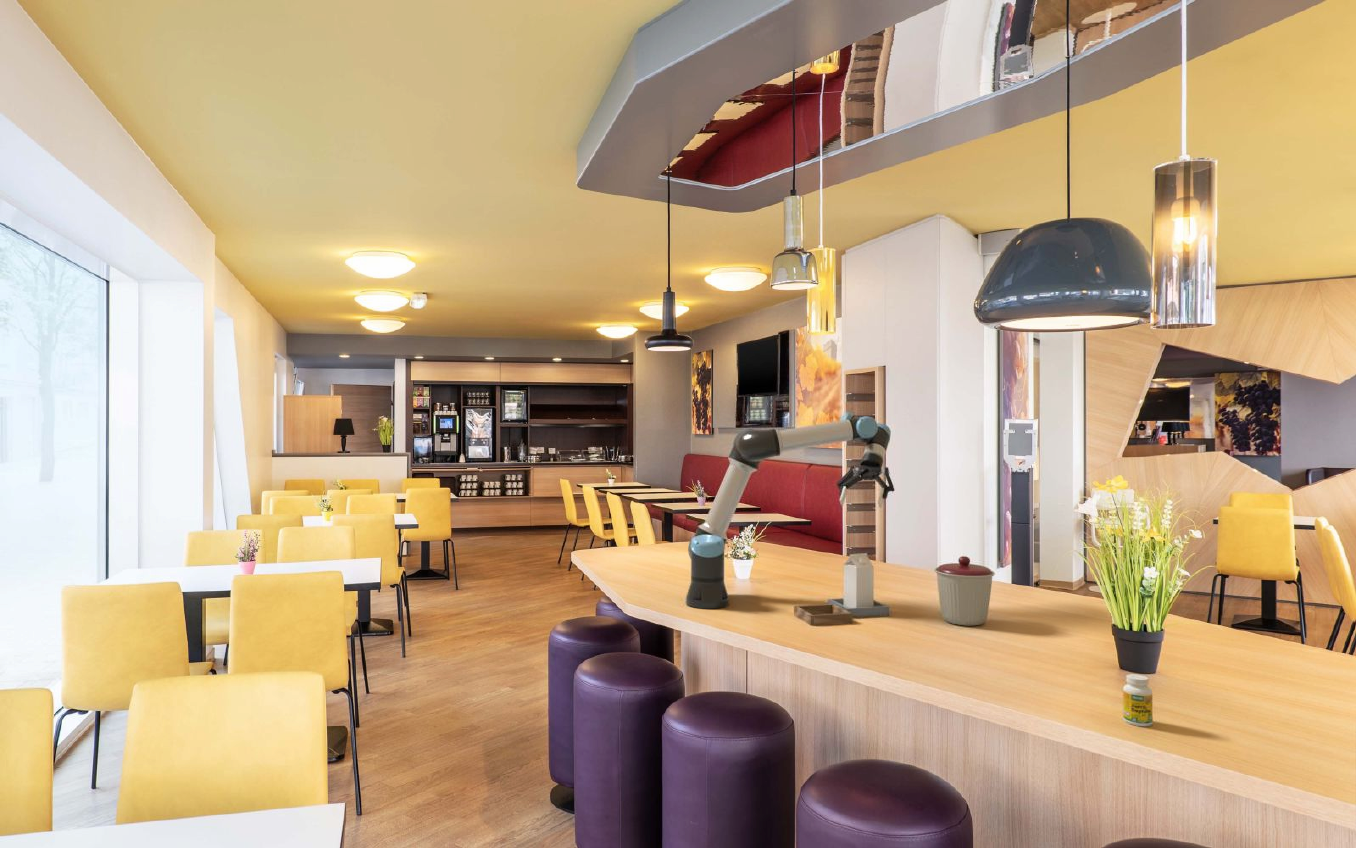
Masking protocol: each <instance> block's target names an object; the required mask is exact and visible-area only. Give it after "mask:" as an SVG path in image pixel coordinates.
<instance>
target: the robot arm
mask: <svg viewBox="0 0 1356 848" xmlns="http://www.w3.org/2000/svg"><path fill="white" fill-rule="evenodd" d="M891 432H892V431H891V429H890V427H889V426H888V425H887V424H885V423H879V422H877V421H876V420H875V419H874V418H873V417H871V416H867V415H866V416H865V415H864V416H856V415H855V414H853V413H851V412H845V413H844V414H843V415H842V416H841V418H840V419H839V420H836V421H829V422H824V423H818V424H813V425H808V426H801V427H796V428H788V429H783V430H778V429H777V428H772V429H754V428H747V429H742V430H741V431H740V432H739V433H737V435H736V436H735V437H734V440H733V443H732V444H733V445H732V448H731V450H730V453H729V455H728V457H727V458H728V461H729V466H728V468H727V470H726V472H725V475H724V477H723V480H722V482H721V484H720V486H719V489H718V491H717V493H716V495H715V498H714V500H713V502H712V505H711V507H710V509H709V511H708V513H707V516H706V519H705V521H704V522H703V523H702V524H699V525H698V526H697V528H696V530H695V533H694V536H693V537H692V538H691V540H689V543H688V548H687V551H688V556H689V558H690V584H689V587H688V589H687V593H686V597H685V604H686V606H688V607H691V608H696V609H721V608H726V607H728V606H729V605H730V596H729V594H728V590H727V587H726V584H725V549H726V546H725V545H726V543H727V541H728V536H727V531H728V529H729V526H730V523H731V522H732V520H733V519H732V518H733V516H734V514H735V512H736V509H737V508H738V505H739V503H740V500H741V498H742V496H743V493H744V491H745V489H746V487H747V484H748V482H749V479H750V477H751V475H752V473H754V472H755V473H756V472H757V471H758V470H759V467H760V464H761V462H762V461H763V460H766V459H769V458H774V457H779V456H781V455H782V454H783V453H784V452H791V451H797V450H803V449H808V448H813V447H815V448H816V447H818V446H819V447H820V446H824V445H826V446H827V445H830V444H837V443H842V442H843V443H844V442H848V441H854V440H856V441H859V442H861V443H862V444H865V447H864V448H865V449H864V451H863V454H862V459H861V461H860V465H859V467H858V468H857V467H855V466H853V465H851V466H850V468H849V470H848V471H847V472H846V473H845V474H844V475H843V476H842V477H841V478H840V479H839V480H838V481H837V482H836V485H837V489H838V490H839V492H838V493H839V503H840V506H844V504H845V501H846V497H847V494H848V489H850V488H851V487H853V486H854V485H855V484H857V483H858V482H862V481H867V480H868V481H873V480H874V481H875V482H876V483H877V484H878V485H879V486H880V487H881V489H880V493H879V496H878V500H877V504H878V508H883V504H884V500H887V498H888V495H889V492H892V493H893V492H895V487H894V484H893V482H892V478H891V476H890V469H889V467H884V468H883V465H884V460H885V458H886V454H887V450H888V446H889V444H890V440H891ZM880 475H883V476H885V479H886V481H887V484H886V482H885V481H884V480H883V479H882V477H881V476H880Z"/></svg>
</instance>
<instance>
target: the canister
mask: <svg viewBox="0 0 1356 848" xmlns="http://www.w3.org/2000/svg"><path fill="white" fill-rule="evenodd" d="M957 561H958V562H957V563H956V562H955V563H951V562H950V563H944V564H941V565H939V566H938V567H935V568H934V572H935V573H936V580H937V589H938V599H939V605H940V612H941V616H942V618H943V619H944V621H945V622H947V623H950V624H953V625H956V624H957V626H963V627H964V626H966V627H967V626H968V627H972V626H973V627H975V626H981V625H984V624H985V623H986V620H987V618H988V615H989V609H990V601H991V592H992V585H993V584H992V583H993V577H994V576H995V571H993V570H992V569H990V568H989V567H987V566H984V565H980V564H973V563H971V559H970V557H968V556H966V555H965V556H960V557H958V560H957Z"/></svg>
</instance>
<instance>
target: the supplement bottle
mask: <svg viewBox="0 0 1356 848" xmlns="http://www.w3.org/2000/svg"><path fill="white" fill-rule="evenodd" d="M1125 682H1126V683H1127V684H1125V685H1124V686H1123V687H1122V688H1123V689H1122V693H1123V694H1122V696H1123V700H1122V701H1123V704H1122V705H1123V706H1122V707H1123V710H1122V711H1123V714H1122V715H1123V720H1124V722H1125V723H1127V724H1128V725H1132V726H1137V727H1142V728H1143V727H1150V726H1152V725H1153V721H1154V719H1153V718H1154V717H1153V691H1152V689H1151V688H1150V687H1149V677H1147V676H1145V675H1141V674H1137V673H1134V674H1131V673H1130V674H1127V675H1126V681H1125Z"/></svg>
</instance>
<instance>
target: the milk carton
mask: <svg viewBox="0 0 1356 848" xmlns="http://www.w3.org/2000/svg"><path fill="white" fill-rule="evenodd" d="M874 569H875V568H874V565H873V563H872V561H871V560H870V558H869V557H868V552H864V553H863V552H862V553H850V554H849V558H848V559H847V560H846V562H844V563H843V598H844V606H846V607H848V608H857V607H873V600H874V575H875V574H874Z"/></svg>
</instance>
